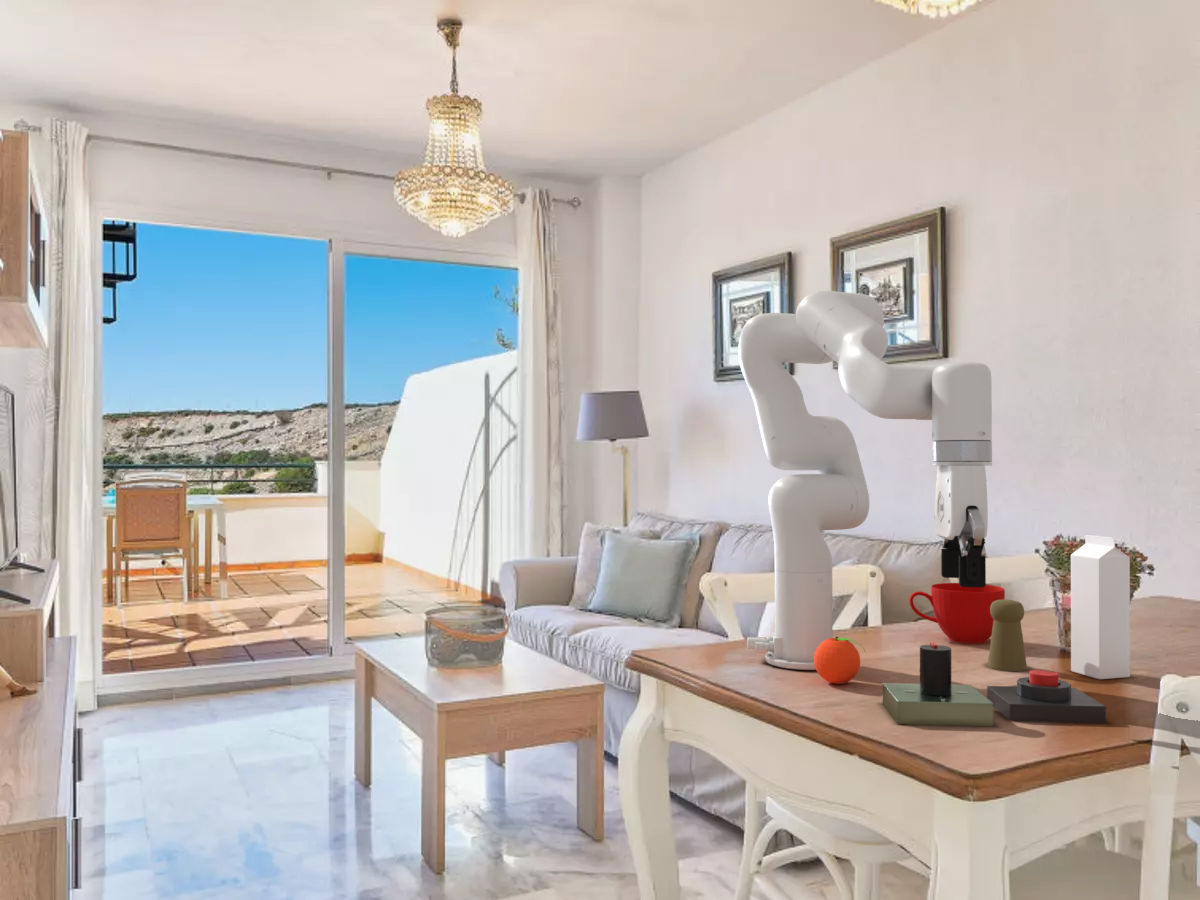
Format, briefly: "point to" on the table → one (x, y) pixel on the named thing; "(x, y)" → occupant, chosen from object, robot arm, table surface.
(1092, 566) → the milk
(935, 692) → the cylinder
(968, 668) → the table surface
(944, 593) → the ceramic cup
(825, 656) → the clementine
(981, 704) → the dial panel
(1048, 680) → the button
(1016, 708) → the switch block
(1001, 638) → the cork
